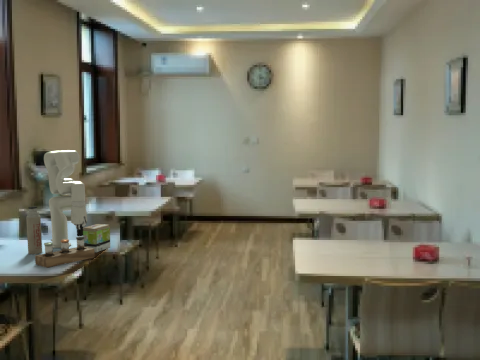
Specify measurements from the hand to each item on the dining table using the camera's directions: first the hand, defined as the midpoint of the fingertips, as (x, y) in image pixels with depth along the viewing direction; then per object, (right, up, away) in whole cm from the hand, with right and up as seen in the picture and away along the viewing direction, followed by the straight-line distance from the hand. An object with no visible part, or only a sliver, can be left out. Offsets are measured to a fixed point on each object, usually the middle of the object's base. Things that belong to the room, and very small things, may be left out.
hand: (80, 235), depth 324 cm
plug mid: (-6, -9, -7) cm, 13 cm away
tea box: (+4, -11, +21) cm, 24 cm away
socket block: (-6, -13, -6) cm, 16 cm away
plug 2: (0, -8, +1) cm, 8 cm away
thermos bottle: (-31, -12, +15) cm, 37 cm away
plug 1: (-13, -10, -14) cm, 22 cm away
